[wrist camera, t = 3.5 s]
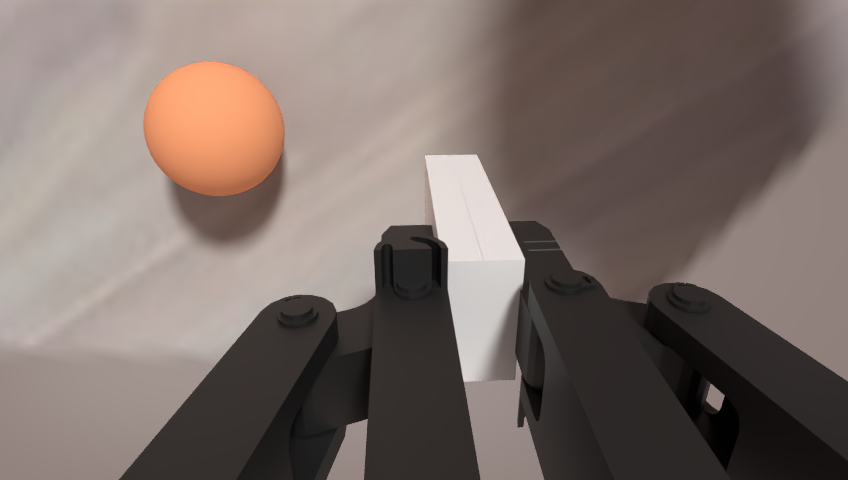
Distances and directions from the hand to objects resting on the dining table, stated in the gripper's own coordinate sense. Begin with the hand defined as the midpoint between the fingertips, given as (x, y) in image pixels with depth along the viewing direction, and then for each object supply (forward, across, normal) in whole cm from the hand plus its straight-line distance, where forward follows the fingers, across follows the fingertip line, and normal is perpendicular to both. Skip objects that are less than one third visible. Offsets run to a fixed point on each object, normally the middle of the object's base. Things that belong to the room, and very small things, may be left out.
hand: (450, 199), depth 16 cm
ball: (+8, +9, 0) cm, 12 cm away
